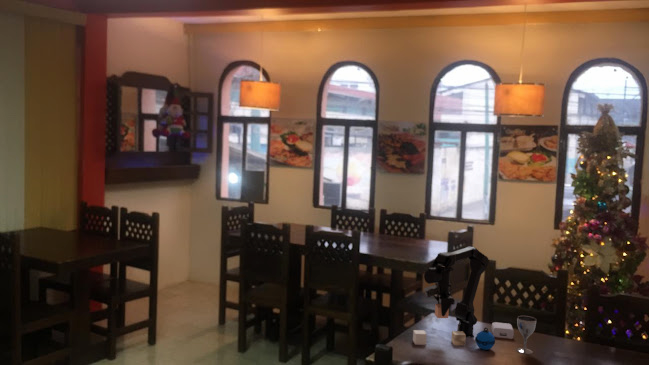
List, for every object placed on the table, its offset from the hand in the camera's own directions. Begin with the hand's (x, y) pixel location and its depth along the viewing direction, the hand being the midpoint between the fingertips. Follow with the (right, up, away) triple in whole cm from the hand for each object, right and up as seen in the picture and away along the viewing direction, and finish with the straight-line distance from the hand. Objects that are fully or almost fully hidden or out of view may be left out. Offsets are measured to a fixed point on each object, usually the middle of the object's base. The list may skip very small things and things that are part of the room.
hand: (441, 314), depth 279 cm
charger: (+33, -13, +18) cm, 39 cm away
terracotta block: (0, -1, 0) cm, 1 cm away
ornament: (+18, -15, -6) cm, 24 cm away
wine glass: (+36, -15, -6) cm, 40 cm away
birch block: (+7, -14, 0) cm, 15 cm away
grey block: (-10, -13, -1) cm, 17 cm away
